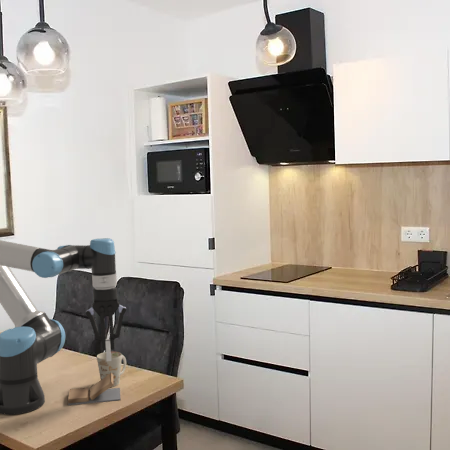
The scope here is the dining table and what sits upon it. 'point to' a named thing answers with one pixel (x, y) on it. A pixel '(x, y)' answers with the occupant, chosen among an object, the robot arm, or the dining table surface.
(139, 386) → the dining table surface
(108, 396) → the underlay
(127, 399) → the dining table surface
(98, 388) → the plank
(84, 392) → the laid plank
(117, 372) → the mug
